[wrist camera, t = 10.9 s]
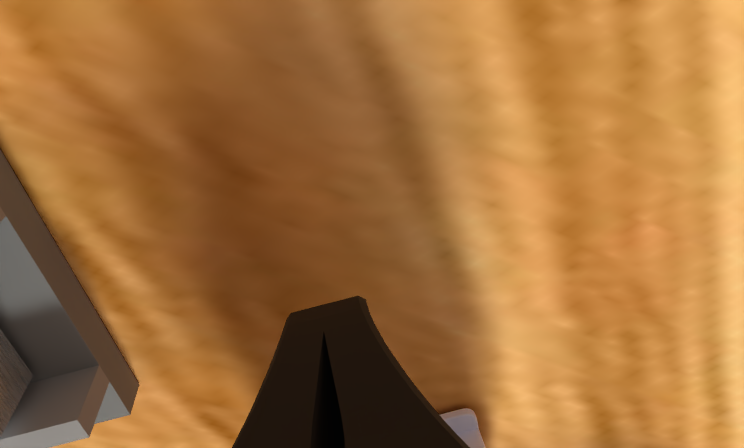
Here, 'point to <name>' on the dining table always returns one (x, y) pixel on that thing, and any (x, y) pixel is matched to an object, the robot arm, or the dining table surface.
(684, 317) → the dining table surface
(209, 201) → the dining table surface
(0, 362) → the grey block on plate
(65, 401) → the gauge base
